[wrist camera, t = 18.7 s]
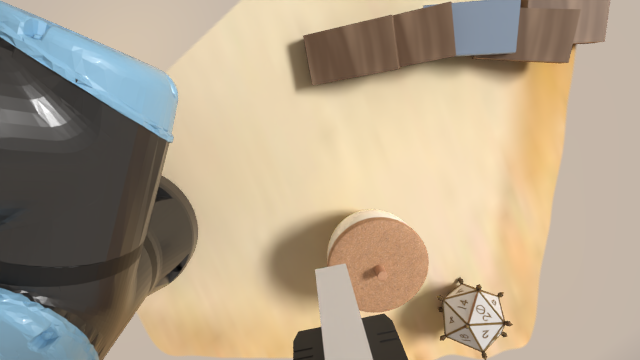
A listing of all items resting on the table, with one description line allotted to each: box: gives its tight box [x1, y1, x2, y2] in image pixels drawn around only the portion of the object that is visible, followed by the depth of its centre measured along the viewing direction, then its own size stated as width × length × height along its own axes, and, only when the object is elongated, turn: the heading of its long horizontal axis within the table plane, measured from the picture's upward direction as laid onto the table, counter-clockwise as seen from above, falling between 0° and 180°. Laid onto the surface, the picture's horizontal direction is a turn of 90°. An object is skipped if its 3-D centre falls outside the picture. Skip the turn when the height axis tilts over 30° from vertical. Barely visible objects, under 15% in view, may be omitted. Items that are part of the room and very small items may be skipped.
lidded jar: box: [327, 209, 429, 312], centre depth 42 cm, size 11×11×9 cm
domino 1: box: [303, 15, 400, 85], centre depth 38 cm, size 2×5×9 cm
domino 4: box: [472, 8, 581, 63], centre depth 39 cm, size 2×5×9 cm
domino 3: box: [423, 0, 521, 56], centre depth 38 cm, size 2×5×9 cm
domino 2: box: [393, 2, 456, 67], centre depth 38 cm, size 2×5×9 cm
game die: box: [437, 278, 513, 360], centre depth 45 cm, size 9×8×10 cm
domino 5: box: [520, 0, 610, 44], centre depth 40 cm, size 2×5×9 cm
